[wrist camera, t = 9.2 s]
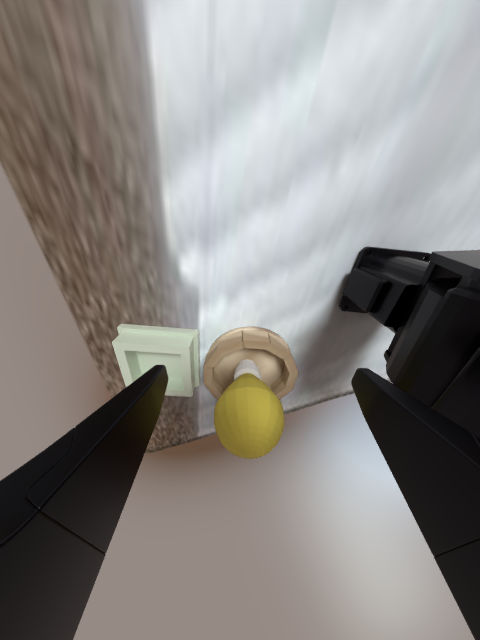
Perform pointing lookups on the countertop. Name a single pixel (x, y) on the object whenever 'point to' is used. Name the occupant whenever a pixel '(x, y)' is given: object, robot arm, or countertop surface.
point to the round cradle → (254, 346)
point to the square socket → (160, 355)
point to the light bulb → (248, 414)
